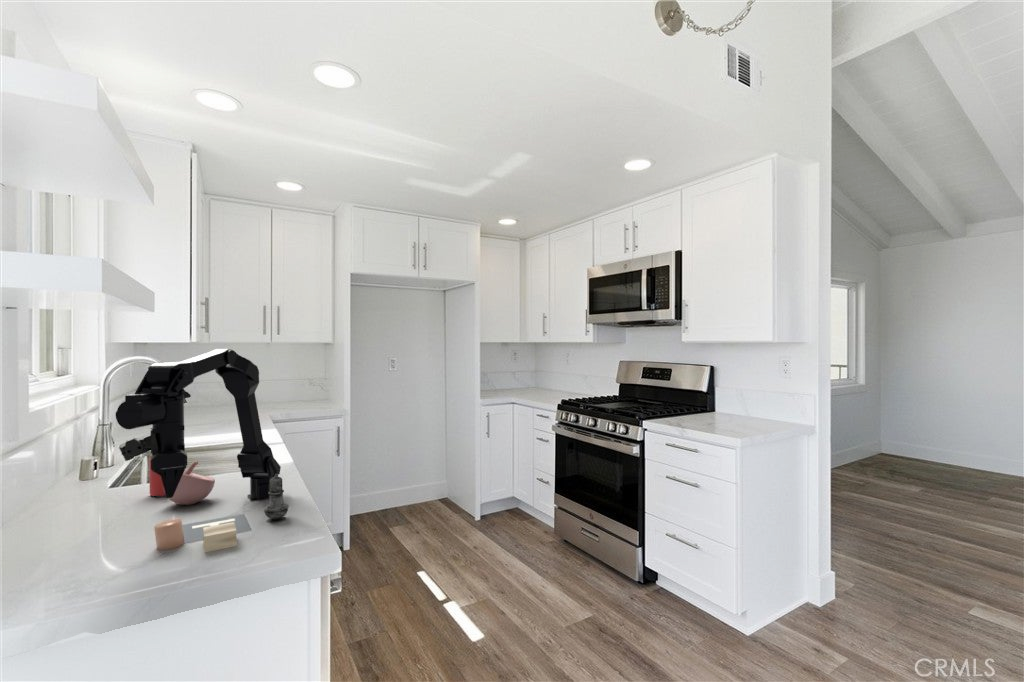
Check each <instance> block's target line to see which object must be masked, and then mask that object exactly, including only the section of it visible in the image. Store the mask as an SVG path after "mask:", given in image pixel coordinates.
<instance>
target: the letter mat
mask: <svg viewBox="0 0 1024 682" xmlns="http://www.w3.org/2000/svg"><path fill="white" fill-rule="evenodd" d="M231 522H234V523H235V527H236V535H238V534H243V533H246V532H251V531H253V529H252V527H251V525H250V523H249V520H248V518H247V516H246V514H245V513H241V514H240V513H239V514H235V515H229V516H224V517H218V518H212V519H207V520H202V521H196V522H190V523H185V524H182V527H183V535H184V544H183V545H187V544H192V543H197V542H202V541H203V528H204V527H209V526H215V525H220V524H226V523H231ZM203 542H204V541H203Z"/></svg>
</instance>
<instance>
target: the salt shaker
mask: <svg viewBox="0 0 1024 682" xmlns="http://www.w3.org/2000/svg"><path fill="white" fill-rule="evenodd" d="M284 493H285V490H284V489H283V478H282V477H280V476H279V475H278V476H277V474H275V477H273V478H271V479H270V491H269V492H268V494H270V498H269V503H268V505H266V506H264V507H263V511H264V514H265V516H266V517H267V518H268V519H267V520H266V523H270V524H277V523H281V522H284V521H286V520H287V517H286V514H287V513H288V511H289V507H290V504H289V503H285V501H284Z"/></svg>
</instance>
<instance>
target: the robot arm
mask: <svg viewBox="0 0 1024 682" xmlns="http://www.w3.org/2000/svg"><path fill="white" fill-rule="evenodd" d="M259 370H260V369H259V368H258V366H257V365H256V364H255V363H253V361H251V360H250V359H248V358H246V357H244V356H241V355H240V354H238V353H237V352H236V351H235V350H233V349H231V348H215V349H212V350H211V351H209V352H206V353H203V354H200V355H197V356H193V357H191V358H188V359H185V360H182V361H172V362H171V361H170V362H159V363H152V364H151V365H149V366H148V368H147V371H146V373H144V376H143V378H142V379H141V381H140V383H139V385H138V386H137V389H135V392H134V393H133V394H125V397H124V398H125V399H124V401H122V403H120V404H119V405H118V407H117V410H116V411H115V419H116V422H117V424H118V425H119V426H120V427H121V428H122V429H124V430H125V429H126V430H133V429H138V428H139V429H140V428H143V427H148V426H151V427H150V432H149V433H147V434H143V435H141V436H138V437H133V438H131V439H129V440H128V439H127V440H126V441H125V442H123V443H121V444H119V447H118V449H119V451H120V454H121V456H122V457H123V458H124V460H125V462H128V461H130V460H133V459H134V458H136V457H138V456H140V455H143V454H145V453H148V452H150V454H151V456H152V455H153V456H152V457H151V456H150V458H151V470H152V471H153V472H155V473H157V474H158V475H160V476H161V479H162V483H163V487H164V490H165V494H166V496H165V497H166V499H169V498H172V497H173V495H174V493H175V491H176V489H177V486H178V484H179V482H180V479H181V477H182V475H183V473H184V471H186V468H187V466H188V454H187V452H186V445H185V407H184V406H185V404H184V401H185V399H188V398H191V397H192V395H191V394H190V393H189V392H188V391H186V390H185V388H186V387H188V386H189V385H191V384H192V383H194V380H195V379H196V378H197V377H199V376H202V375H205V374H208V373H210V372H213V371H215V373H216V374H217V375H218V376H219V378H221V379H222V380H223V384H224V387H225V389H226V390H227V391H228V392H229V393H230V394H231V395H232V397H234V398H233V399H234V402H235V408H236V414H237V419H238V424H239V430H240V434H241V438H242V439H241V440H242V448H241V450H240V453H238V454H237V455H236V458H237V459H236V460H237V465H238V467H237V468H239V469H240V474H241V476H242V478H243V479H245V478H249V488H250V489H249V490H250V491H249V494H247V498H248V499H249V501H250V502H257V501H262V500H267V499H269V500H270V494H268V492H269V491H270V479H271V478H273V477H275V474H277V476H278V477H279V475H281V474H280V473H281V469H282V468H281V465H280V463H278V461H277V460H276V459H275V458H274V454H273V451H272V448H271V447H270V445H268V444H267V443H266V442H265V441H264V439H263V431H262V427H261V426H262V425H261V421H260V416H259V410H258V405H257V397H256V390H257V389H258V386H259V384H260V371H259Z"/></svg>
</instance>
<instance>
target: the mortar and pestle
mask: <svg viewBox="0 0 1024 682" xmlns="http://www.w3.org/2000/svg"><path fill="white" fill-rule="evenodd" d="M198 464H199V461H197V460H196V461H194V462H192V463H191V464H190V466H189V467H188V469H187V470H185V471H184V473H183V475H182V477H181V479H180V482H179V484H178V486H177V489H176V491H175V493H174V495H173V497H172V498H168V499H169V500H170V501H172V503H175V504H176V505H177V504H178V505H182V506H183V505H184V506H189V505H194V504H197V503H199V502H201V501H203V500H204V499H206V498H207V497H208V496H209V495H210V494H211V493H212V491H213V489H214V487H215V484H216V479H215V478H214V477H212V476H207V475H202V474H198V473H194V472H192V471H194V469H195V467H196V466H197V465H198ZM164 491H165V490H164Z"/></svg>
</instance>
